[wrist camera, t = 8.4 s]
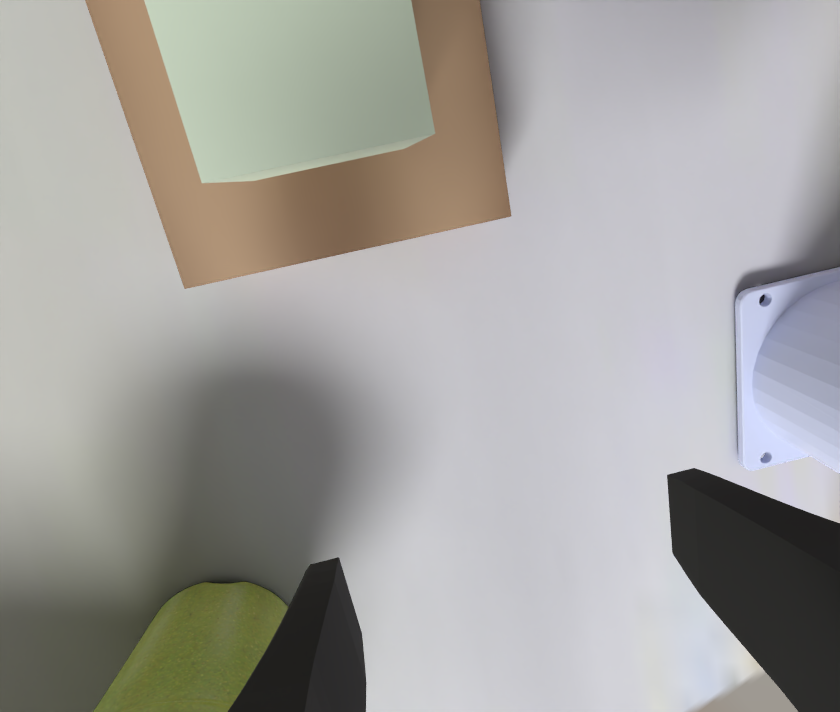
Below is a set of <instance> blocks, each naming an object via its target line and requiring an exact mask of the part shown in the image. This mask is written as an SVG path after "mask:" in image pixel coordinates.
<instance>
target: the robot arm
mask: <svg viewBox="0 0 840 712" xmlns="http://www.w3.org/2000/svg"><path fill="white" fill-rule="evenodd" d="M763 294H764V295H765V298H764V301H763V302H762V303H761V304H759V299H760V297H761V296H762V295H763ZM735 320H736V366H737V411H738V457H739V463H740V464H741V466H743V467H744V468H745V469H747V470H750V471H752V470H758V469H762V468H766V467H770V466H774V465H778V464H781V463H785V462H789V461H793V460H797V459H801V458H805V457H809V456H811V457H813V458H814V459H816V460H818V461H819V462H821V463H822V464H824V465H826V466H827V467H829V468H831V469H832V470H834V471H836V472H837V473H839V474H840V267H838V268H833V269H829V270H825V271H820V272H816V273H812V274H808V275H803V276H799V277H795V278H791V279H786V280H782V281H778V282H774V283H769V284H765V285H761V286H757V287H752V288H748V289H745V290H743V291H742V292H741V293H739V294H738V296H737V298H736V302H735ZM764 453H765V455H764V457H763V458H761V456H762V455H763V454H764ZM760 458H761V459H760ZM667 479H668V494H669V508H670V523H671V537H672V552H673V554H674V556H675V557H676V559H677V561H678V562H679V564H680V565H681V567H682V568H683V570H684V572H685V573H686V575H687V576H688V578H689V579H690V581H691V582H692V584H693V585H694V587H695V588H696V589H697V591H698V592H699V594H700V595H701V596H702V598H703V599H704V600H705V601H706V602H707V604H708V605H709V606H710V607H711V608H712V610H713V611H714V612H715V613H716V614H717V616H718V617H719V618H720V619H721V620H722V621H723V623H724V624H725V625H726V626H727V627H728V629H729V630H730V631H731V632H732V633H733V634H734V635H735V637H736V638H737V639H738V640H739V641H740V642H741V644H742V645H743V646H744V647H745V648H746V649H747V651H748V652H749V653H750V654H751V655H752V656H753V658H754V659H755V660H756V661H757V662H758V663H759V665H760V666H761V667H762V668H763V669H764V670H765V672H766V673H767V674H768V675H769V676H770V677H771V679H772V680H773V681H774V682H775V683H776V684H777V686H778V687H779V688H780V689H781V690H782V692H783V693H784V694H785V695H786V697H787V698H788V699H789V700H790V702H791V703H792V704H793V705H794V706H795V708H796V709H797V710H798V712H840V523H837V522H834V521H831V520H828V519H825V518H822V517H820V516H817V515H814V514H811V513H809V512H806V511H803V510H801V509H798V508H795V507H793V506H790V505H788V504H785V503H782V502H780V501H777V500H775V499H772V498H770V497H767V496H765V495H762V494H760V493H757V492H755V491H752V490H750V489H747V488H745V487H742V486H740V485H737V484H735V483H733V482H730V481H728V480H725V479H723V478H720V477H717V476H715V475H712V474H710V473H707V472H704V471H701V470H698V469H695V468H693V469H689V470H685V471H681V472H677V473H673V474H669V475H667ZM228 712H366V674H365V662H364V652H363V641H362V633H361V629H360V626H359V623H358V619H357V616H356V613H355V609H354V606H353V603H352V599H351V596H350V593H349V589H348V586H347V583H346V580H345V576H344V573H343V570H342V566H341V563H340V560H339V558H335V559H331V560H327V561H323V562H319V563H315V564H311V565H310V566H309V567H308V569H307V570H306V572H305V574H304V576H303V579H302V581H301V583H300V585H299V587H298V589H297V591H296V593H295V595H294V597H293V599H292V602H291V604H290V606H289V608H288V610H287V611H286V613H285V615H284V617H283V619H282V621H281V623H280V625H279V627H278V629H277V630H276V632H275V634H274V636H273V638H272V640H271V642H270V644H269V645H268V647H267V649H266V651H265V652H264V654H263V656H262V658H261V659H260V661H259V662H258V664H257V666H256V667H255V669H254V671H253V672H252V674H251V676H250V677H249V679H248V681H247V682H246V684H245V686H244V687H243V689H242V690H241V692H240V694H239V695H238V697H237V698H236V700H235V701H234V703H233V704H232V706H231V707H230V709H229V710H228Z"/></svg>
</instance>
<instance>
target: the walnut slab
mask: <svg viewBox="0 0 840 712" xmlns="http://www.w3.org/2000/svg"><path fill="white" fill-rule="evenodd" d="M85 1H86V4H87V7H88V10H89V13H90V15H91V18H92V21H93V24H94V27H95V30H96V33H97V36H98V39H99V42H100V44H101V47H102V50H103V53H104V56H105V59H106V62H107V65H108V68H109V71H110V73H111V76H112V79H113V82H114V85H115V88H116V91H117V94H118V97H119V100H120V102H121V105H122V108H123V111H124V114H125V117H126V120H127V123H128V126H129V129H130V132H131V134H132V137H133V140H134V143H135V146H136V149H137V152H138V155H139V158H140V161H141V163H142V166H143V169H144V172H145V175H146V178H147V181H148V184H149V187H150V190H151V192H152V195H153V198H154V201H155V204H156V207H157V210H158V213H159V216H160V219H161V221H162V224H163V227H164V230H165V233H166V236H167V239H168V242H169V245H170V248H171V250H172V253H173V256H174V259H175V262H176V265H177V268H178V271H179V274H180V277H181V280H182V282H183V285H184V288H185V289H186V288H191V287H195V286H200V285H204V284H209V283H213V282H218V281H222V280H227V279H231V278H236V277H240V276H245V275H249V274H254V273H258V272H263V271H267V270H272V269H276V268H281V267H285V266H290V265H294V264H299V263H303V262H308V261H312V260H317V259H321V258H326V257H330V256H335V255H339V254H344V253H348V252H353V251H357V250H362V249H366V248H371V247H375V246H380V245H384V244H389V243H393V242H398V241H402V240H407V239H411V238H416V237H420V236H425V235H429V234H434V233H438V232H443V231H447V230H452V229H456V228H461V227H465V226H470V225H474V224H479V223H483V222H488V221H492V220H497V219H501V218H506V217H510V216H511V211H510V204H509V197H508V190H507V183H506V177H505V170H504V163H503V156H502V149H501V143H500V136H499V129H498V122H497V115H496V109H495V102H494V95H493V88H492V81H491V75H490V68H489V61H488V54H487V47H486V40H485V34H484V27H483V20H482V13H481V6H480V0H411V2H412V8H413V13H414V19H415V24H416V30H417V35H418V41H419V46H420V52H421V57H422V63H423V68H424V74H425V79H426V85H427V90H428V96H429V102H430V107H431V113H432V118H433V124H434V129H435V134H433V135H431V136H429V137H427V138H425V139H423V140H421V141H419V142H417V143H415V144H413V145H411V146H409V147H407V148H405V149H401V150H396V151H392V152H387V153H382V154H377V155H373V156H368V157H363V158H359V159H354V160H349V161H345V162H340V163H335V164H331V165H326V166H321V167H317V168H312V169H307V170H303V171H298V172H293V173H289V174H284V175H279V176H275V177H270V178H265V179H261V180H256V181H243V182H220V183H202V182H201V179H200V176H199V173H198V170H197V166H196V163H195V160H194V157H193V154H192V151H191V147H190V144H189V141H188V138H187V135H186V132H185V128H184V125H183V122H182V119H181V116H180V113H179V109H178V106H177V103H176V100H175V97H174V94H173V90H172V87H171V84H170V81H169V78H168V74H167V71H166V68H165V65H164V62H163V59H162V55H161V52H160V49H159V46H158V43H157V40H156V36H155V33H154V30H153V27H152V24H151V21H150V17H149V14H148V11H147V8H146V5H145V2H144V0H85Z"/></svg>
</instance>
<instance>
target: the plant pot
mask: <svg viewBox="0 0 840 712" xmlns="http://www.w3.org/2000/svg"><path fill="white" fill-rule="evenodd" d="M287 610H288V606H287V605H286V604H285V603H284V602H283V601H282V600H281V599H280V598H279V597H278V596H276V595H275V594H273V593H272V592H270V591H268V590H267V589H265V588H263V587H260V586H258V585H255V584H252V583H248V582H238V583H230V584H216V583H209V582H204V583H200V584H197V585H194V586H191V587H189V588H186V589H184V590H183V591H181V592H179V593H178V594H176V595H175V596H173V597H172V598H171V599H169V600H168V601H167V602H166V603H165V604H164V605H163V606H162V607H161V609H160V610H159V611H158V613H157V614H156V616H155V617H154V619H153V620H152V622H151V623H150V625H149V627H148V628H147V630H146V631H145V633H144V634H143V636H142V637H141V639H140V640H139V642H138V644H137V645H136V647H135V648H134V650H133V651H132V653H131V654H130V656H129V658H128V659H127V661H126V662H125V664H124V665H123V667H122V668H121V670H120V671H119V673H118V675H117V676H116V678H115V679H114V681H113V682H112V684H111V685H110V687H109V688H108V690H107V691H106V693H105V695H104V696H103V698H102V699H101V701H100V702H99V704H98V705H97V707H96V708H95V710H94V711H93V712H228V710H229V709H230V707H231V706H232V704H233V703H234V701H235V700H236V698H237V697H238V695H239V694H240V692H241V690H242V689H243V687H244V686H245V684H246V682H247V681H248V679H249V677H250V676H251V674H252V672H253V671H254V669H255V667H256V666H257V664H258V662H259V661H260V659H261V658H262V656H263V654H264V652H265V651H266V649H267V647H268V645H269V644H270V642H271V640H272V638H273V636H274V634H275V632H276V630H277V629H278V627H279V625H280V623H281V621H282V619H283V617H284V615H285V613H286V611H287Z"/></svg>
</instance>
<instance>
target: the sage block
mask: <svg viewBox="0 0 840 712" xmlns="http://www.w3.org/2000/svg"><path fill="white" fill-rule="evenodd" d="M144 2H145V5H146V8H147V11H148V14H149V17H150V21H151V24H152V27H153V30H154V33H155V36H156V40H157V43H158V46H159V49H160V52H161V55H162V59H163V62H164V65H165V68H166V71H167V74H168V78H169V81H170V84H171V87H172V90H173V94H174V97H175V100H176V103H177V106H178V109H179V113H180V116H181V119H182V122H183V125H184V128H185V132H186V135H187V138H188V141H189V144H190V147H191V151H192V154H193V157H194V160H195V163H196V166H197V170H198V173H199V176H200V179H201V182H202V183H220V182H243V181H256V180H261V179H265V178H270V177H275V176H279V175H284V174H289V173H293V172H298V171H303V170H307V169H312V168H317V167H321V166H326V165H331V164H335V163H340V162H345V161H349V160H354V159H359V158H363V157H368V156H373V155H377V154H382V153H387V152H392V151H396V150H401V149H405V148H407V147H409V146H411V145H413V144H415V143H417V142H419V141H421V140H423V139H425V138H427V137H429V136H431V135H433V134H435V129H434V124H433V118H432V113H431V107H430V102H429V96H428V90H427V85H426V79H425V74H424V68H423V63H422V57H421V52H420V46H419V41H418V35H417V30H416V24H415V19H414V13H413V8H412V2H411V0H144Z"/></svg>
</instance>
